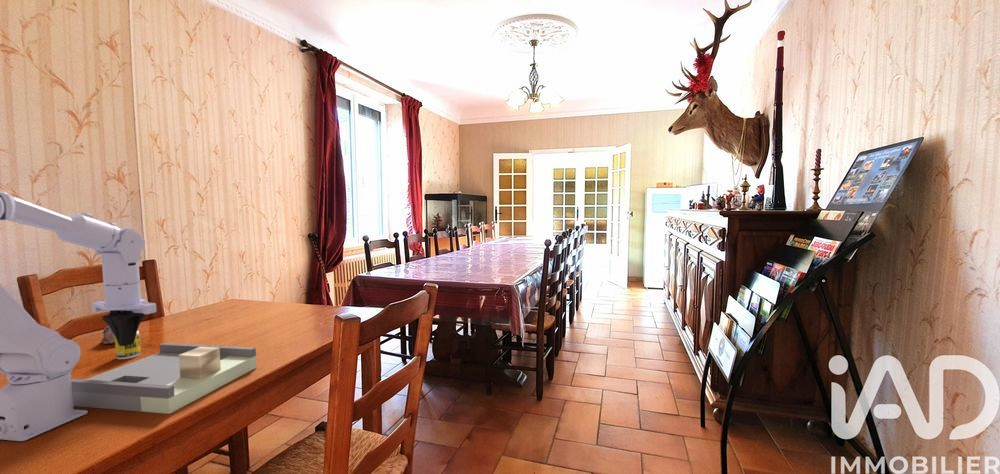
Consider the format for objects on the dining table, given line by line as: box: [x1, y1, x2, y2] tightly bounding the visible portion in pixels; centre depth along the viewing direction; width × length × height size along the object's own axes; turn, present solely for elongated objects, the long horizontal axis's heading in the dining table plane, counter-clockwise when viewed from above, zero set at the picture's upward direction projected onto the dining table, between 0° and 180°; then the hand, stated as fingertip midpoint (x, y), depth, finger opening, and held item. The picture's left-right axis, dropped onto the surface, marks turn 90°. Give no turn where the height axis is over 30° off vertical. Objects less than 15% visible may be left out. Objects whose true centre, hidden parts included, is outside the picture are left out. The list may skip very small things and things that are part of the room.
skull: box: [100, 324, 115, 345], centre depth 118 cm, size 12×8×6 cm, turn 44°
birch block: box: [179, 347, 221, 379], centre depth 86 cm, size 5×5×5 cm
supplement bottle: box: [114, 330, 142, 360], centre depth 104 cm, size 5×5×8 cm
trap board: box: [71, 342, 257, 415], centre depth 88 cm, size 22×26×5 cm
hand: (126, 344), depth 87 cm, fingers closed
